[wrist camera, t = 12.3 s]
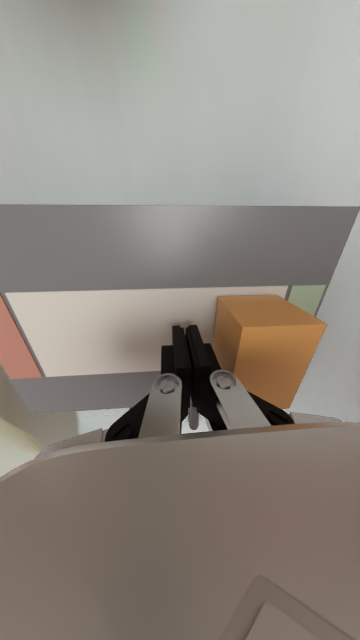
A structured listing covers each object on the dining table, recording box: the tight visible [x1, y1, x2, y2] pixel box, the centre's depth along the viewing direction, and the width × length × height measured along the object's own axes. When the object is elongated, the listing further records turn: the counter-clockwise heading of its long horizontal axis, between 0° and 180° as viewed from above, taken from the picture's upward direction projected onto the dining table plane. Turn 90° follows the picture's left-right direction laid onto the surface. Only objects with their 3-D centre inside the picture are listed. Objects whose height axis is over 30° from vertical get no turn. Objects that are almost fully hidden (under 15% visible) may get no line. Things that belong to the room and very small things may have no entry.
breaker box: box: [0, 204, 360, 430], centre depth 18 cm, size 24×27×5 cm
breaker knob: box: [213, 295, 327, 409], centre depth 11 cm, size 4×6×4 cm, turn 1°
